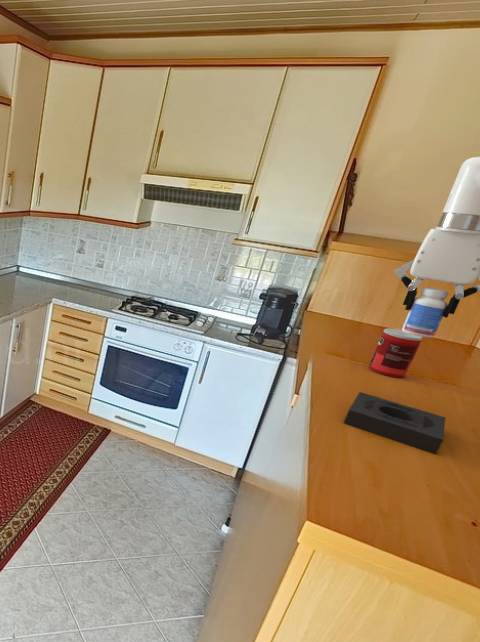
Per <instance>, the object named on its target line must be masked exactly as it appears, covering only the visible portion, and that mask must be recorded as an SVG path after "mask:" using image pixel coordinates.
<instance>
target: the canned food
mask: <svg viewBox="0 0 480 642" xmlns="http://www.w3.org/2000/svg"><path fill="white" fill-rule="evenodd" d="M422 339H423V337H421V336H416V335H411V334H408V333H405V332H403V331H402V329H399V328H391V327H389V328H388V327H387V328H384V329H383V330H382V333H381V335H380V337H379V340H378V343H377V345H376V348H375V350H374V352H373V355H372V357H371V360H370V363H369V370H371V371H373V372H375V373H377V374H380V375H383V376H387V377H391V378H397V379H402V378H404V377H405V376H406V375H407V373H408V371H409V369H410V367H411V365H412V363H413V360H414V358H415V356H416V354H417V352H418V349H419V347H420V345H421V342H422Z"/></svg>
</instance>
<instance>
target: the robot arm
mask: <svg viewBox="0 0 480 642" xmlns="http://www.w3.org/2000/svg"><path fill="white" fill-rule="evenodd" d="M436 224H437V225H436V226H435V228H430V230H428V232H427V234H426V236H425V237H424V239H423V241H422V243H421V245H420V247H419V249H418V251H417V253H416V255H415V257H414V258H413V259H412V260H410V261H408V262H407V263H405V264H403V265H402V266H399V267H398V268H396V269H394V271H393V272H394V274H395V275H396V276H397V278H399V280H400V281H401V283H403V285H404V286H405V288H406V290H407V293H406V295H405V298H404V300H403V303H402V305H403V306H405V308H404V310H405V311H409V310H410V308H411V305H412V303H413V301H414V299H415V298H417V293H418V286H419V285H420V284H421V283H422V282H423V281H424V280H429V281H436V282H442V283H449V284H453V285H454V292H455V293H454V294H453V296H452V297H450V299H449V302H448V303H447V308H446V310H445V313H444V315H443V318H445V319H447V318H448V317H449V315H450V314H451V315H455V313H456V310H457V308H458V306H459V304H460V301H461V300H463V299H465V298H466V297H469V296H471V295H475V294H476V293H479V292H480V283H479V284H477V285H474V286H473V285H472V284H474V283H475V282H476V280H477V279H478V281H479V282H480V156H474V157H470V158H468V159H466V160H465V161H463V163H462V164H461V166H460V168H459V171H458V173H457V175H456V178H455V180H454V182H453V185H452V188H451V189H450V192H449V195H448V197H447V200H446V202H445V205H444V208H443V210H442V212H441V214H440V217H439V220H438V222H437V223H436ZM408 270H410V271H409V274H410V275H411V276H413V277H414V279H413V280H412V279H411V278H410V277H409V276H408V274H407V273H406V272H407V271H408ZM465 285H472V286H470V287H468V288H466V289H465Z"/></svg>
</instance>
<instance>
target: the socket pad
mask: <svg viewBox="0 0 480 642" xmlns="http://www.w3.org/2000/svg"><path fill="white" fill-rule="evenodd" d="M349 407H350V408H349V409H348V411H347V414H346V416H345V418H344V420H343V424H346V425H348V426H352V427H354V428H357V429H361V430H363V431H367V432H370V433H373V434H375V435H378V436H382V437H385V438H387V439H391V440H394V441H396V442H399V443H402V444H405V445H408V446H411V447H414V448H416V449H420V450H423V451H426V452H429V453H432V454H435V455H436V454H438V451H439V449H440V447H441V446H442V443H443V441H444V435H445V427H446V426H445V425H446V416H442V415H438V414H436V413H432V412H428V411H427V410H426V411H425V410H422V409H419V408H416V407H412V406H409V405H405V404H403V403H399V402H395V401H392V400H389V399H385V398H382V397H379V396H375V395H372V394H369V393H365V392H361V391H359V392H358V394H357V396H356V397H355V399H354V401H353V402H352V404H351V406H349Z"/></svg>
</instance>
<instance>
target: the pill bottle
mask: <svg viewBox="0 0 480 642" xmlns="http://www.w3.org/2000/svg"><path fill="white" fill-rule="evenodd" d="M449 293H450V291H449V290H447V289H446V290H445V289H441V288H436V287H427V286H426V287H425V286H424V287H423V288H422V290H421V292H420V294H421V296H416V297H415V299H414V301H413V303H412V305H411V308H410V310H408V313H407V315H406V317H405V320H404V323H403V325H402V328H401V330H402V331H403V332H405V333H408V334H411V335H416V336H421V337H422V338H434V337H435V335H436V334H437V331H438V329H439V327H440V325H441V322H442V320H443V319H444V316H443V315H444V313H445V310H446V308H447V306H448V302H447V301H445V299H447V298H448V295H449Z"/></svg>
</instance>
